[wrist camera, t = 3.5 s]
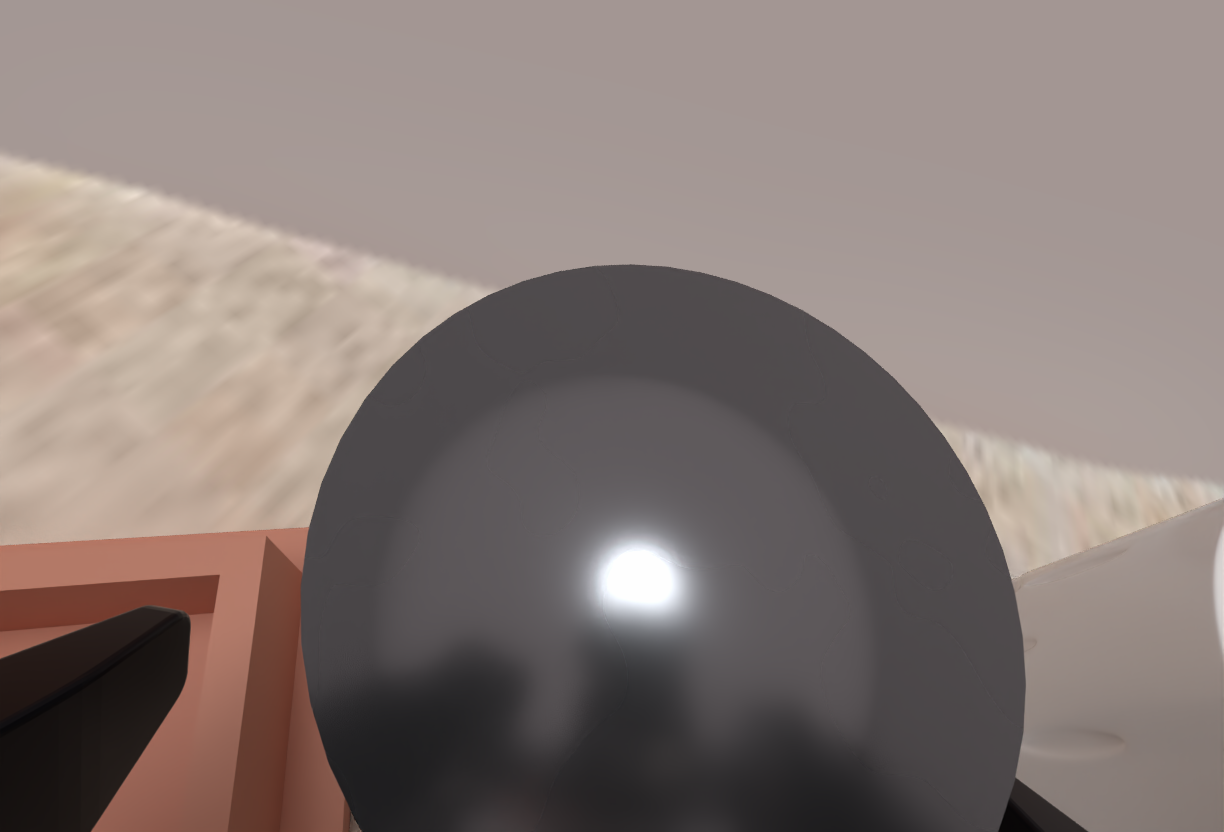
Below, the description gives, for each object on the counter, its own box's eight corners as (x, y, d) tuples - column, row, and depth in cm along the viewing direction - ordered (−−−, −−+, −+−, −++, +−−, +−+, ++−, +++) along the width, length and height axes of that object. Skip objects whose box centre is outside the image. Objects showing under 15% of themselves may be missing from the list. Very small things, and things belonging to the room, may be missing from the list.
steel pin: (669, 746, 15) (1163, 744, 4) (466, 859, 13) (454, 1338, 3) (587, 555, 17) (791, 222, 6) (400, 630, 15) (228, 341, 4)
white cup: (1074, 639, 19) (1575, 550, 10) (1126, 965, 15) (2008, 1256, 6) (839, 569, 18) (1160, 414, 10) (828, 886, 14) (1351, 1087, 6)
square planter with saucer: (337, 1041, 12) (281, 1164, 8) (-372, 1216, 9) (-871, 1494, 6) (365, 533, 16) (336, 475, 13) (-106, 563, 14) (-298, 502, 10)
